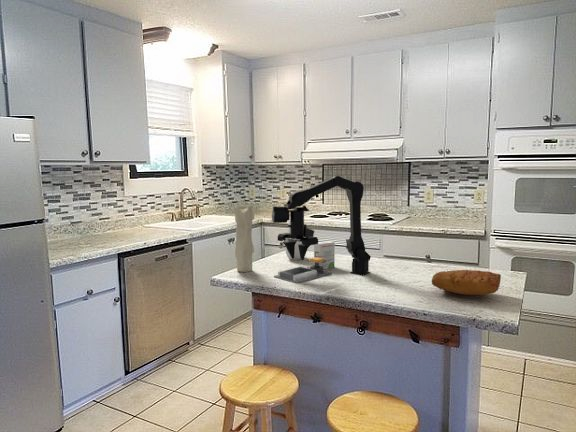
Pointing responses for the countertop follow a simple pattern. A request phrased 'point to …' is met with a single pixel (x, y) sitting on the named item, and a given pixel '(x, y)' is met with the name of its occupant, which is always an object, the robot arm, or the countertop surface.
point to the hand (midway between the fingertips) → (297, 259)
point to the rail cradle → (302, 274)
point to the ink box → (325, 253)
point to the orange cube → (316, 260)
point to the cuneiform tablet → (467, 281)
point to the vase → (244, 237)
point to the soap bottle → (297, 254)
